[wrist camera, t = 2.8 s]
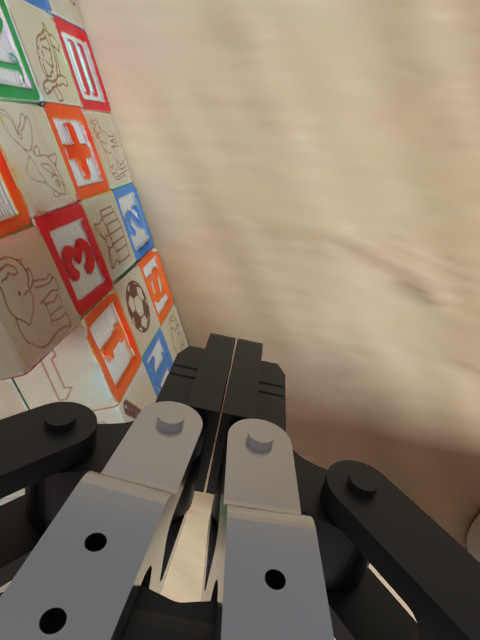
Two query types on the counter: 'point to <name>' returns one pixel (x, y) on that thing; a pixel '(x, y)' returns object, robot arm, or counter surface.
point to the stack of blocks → (72, 233)
